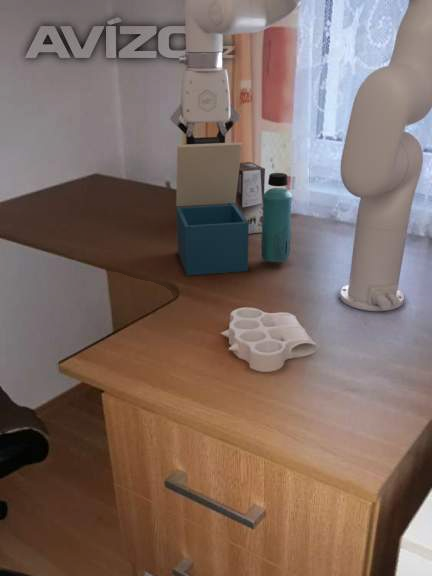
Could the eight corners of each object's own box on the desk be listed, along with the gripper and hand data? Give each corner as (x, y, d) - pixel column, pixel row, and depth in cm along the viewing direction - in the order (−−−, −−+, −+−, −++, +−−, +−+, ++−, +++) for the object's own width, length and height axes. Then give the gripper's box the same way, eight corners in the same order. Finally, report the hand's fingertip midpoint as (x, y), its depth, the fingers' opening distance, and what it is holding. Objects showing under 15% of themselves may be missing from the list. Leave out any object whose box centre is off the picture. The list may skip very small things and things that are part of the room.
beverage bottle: (287, 269, 136) (292, 178, 126) (258, 267, 138) (261, 176, 127) (290, 259, 142) (295, 170, 131) (262, 257, 143) (265, 169, 132)
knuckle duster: (322, 366, 100) (236, 376, 98) (288, 319, 115) (212, 326, 112) (324, 348, 98) (236, 358, 96) (289, 302, 113) (212, 310, 111)
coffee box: (264, 232, 159) (266, 168, 150) (241, 235, 157) (242, 170, 148) (249, 222, 166) (250, 161, 157) (227, 225, 164) (228, 163, 155)
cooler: (247, 271, 136) (248, 222, 130) (186, 275, 134) (185, 226, 128) (234, 248, 148) (234, 204, 142) (178, 252, 146) (176, 207, 140)
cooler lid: (242, 144, 129) (237, 128, 132) (177, 147, 127) (174, 131, 130) (235, 203, 142) (231, 188, 145) (176, 206, 140) (173, 191, 143)
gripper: (164, 64, 120) (169, 159, 130) (249, 62, 123) (247, 155, 132) (160, 61, 126) (165, 152, 136) (241, 59, 129) (240, 149, 139)
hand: (205, 153), depth 134 cm, fingers closed on cooler lid, 5 cm apart
